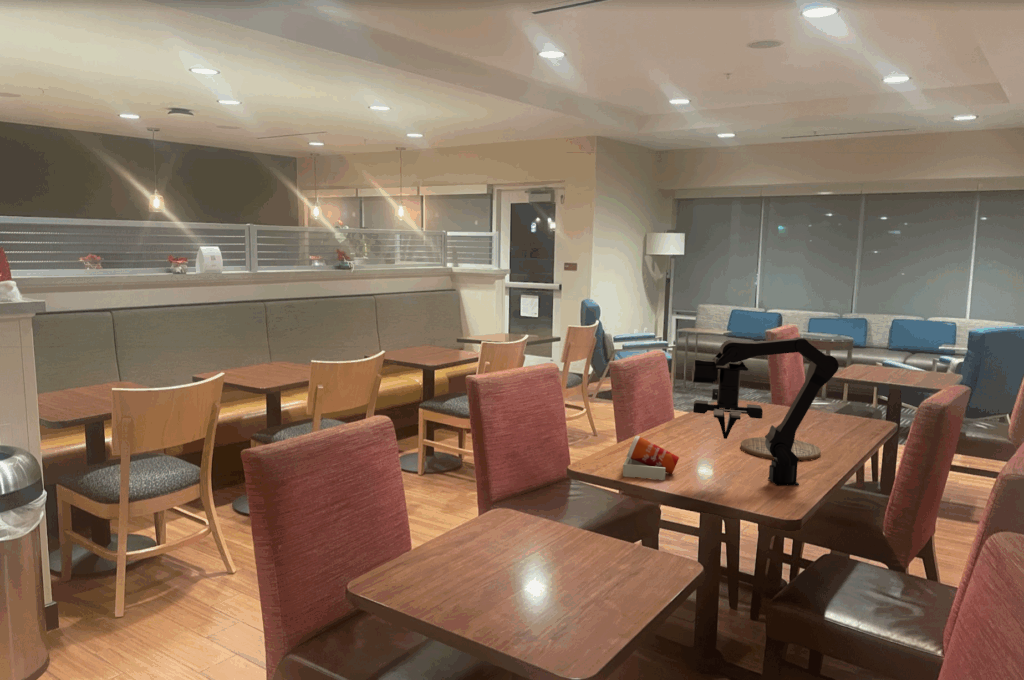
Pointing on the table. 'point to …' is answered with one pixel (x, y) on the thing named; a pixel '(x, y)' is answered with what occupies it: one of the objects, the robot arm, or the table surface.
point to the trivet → (759, 449)
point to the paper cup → (652, 454)
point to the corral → (642, 470)
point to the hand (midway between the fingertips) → (725, 438)
